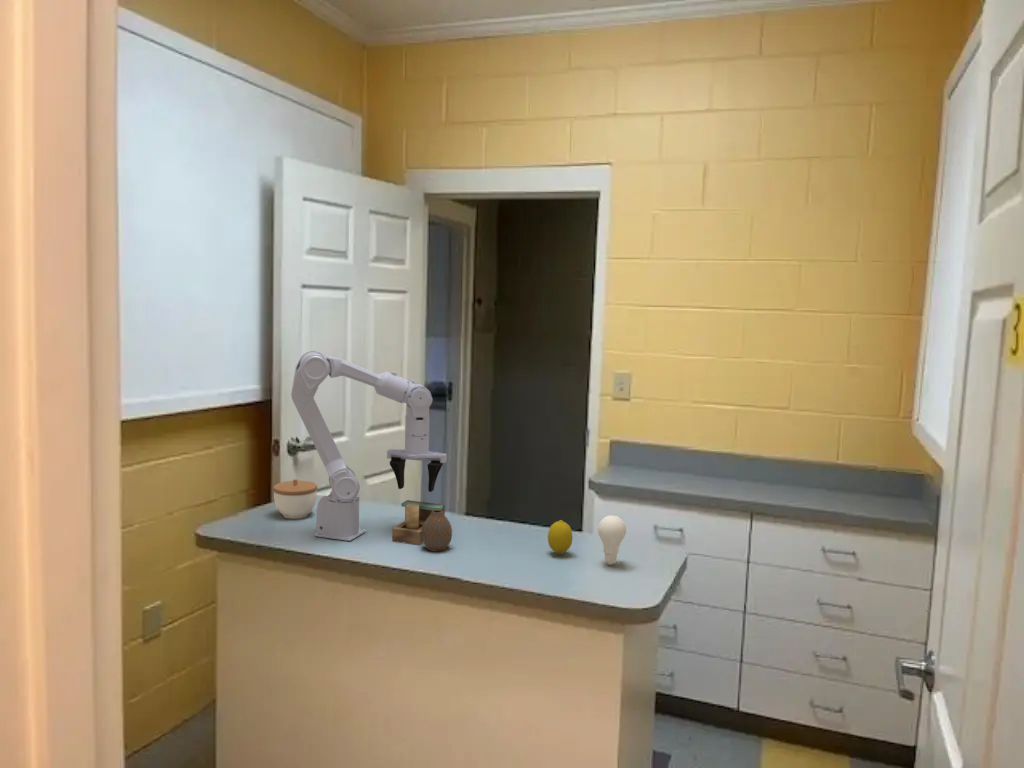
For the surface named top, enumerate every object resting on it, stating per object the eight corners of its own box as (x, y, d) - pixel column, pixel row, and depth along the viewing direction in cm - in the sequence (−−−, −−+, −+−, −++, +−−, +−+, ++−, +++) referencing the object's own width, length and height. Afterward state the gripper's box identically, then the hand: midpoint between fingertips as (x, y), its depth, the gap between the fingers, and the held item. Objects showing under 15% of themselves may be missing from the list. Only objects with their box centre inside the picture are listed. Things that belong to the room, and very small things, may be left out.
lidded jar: (325, 512, 201) (325, 477, 200) (300, 523, 191) (300, 486, 190) (291, 507, 204) (291, 472, 203) (264, 517, 195) (264, 481, 193)
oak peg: (403, 539, 181) (403, 506, 180) (409, 536, 184) (409, 503, 183) (414, 541, 180) (415, 508, 179) (420, 537, 183) (421, 504, 182)
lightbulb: (617, 571, 165) (619, 521, 164) (591, 565, 168) (593, 516, 167) (628, 563, 170) (631, 515, 169) (603, 557, 174) (605, 510, 172)
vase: (446, 554, 172) (447, 516, 171) (417, 551, 174) (417, 513, 173) (455, 544, 179) (456, 508, 178) (426, 542, 180) (427, 505, 179)
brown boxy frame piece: (386, 540, 181) (386, 511, 180) (406, 526, 191) (407, 500, 190) (425, 545, 178) (426, 517, 177) (444, 532, 188) (444, 504, 187)
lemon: (574, 552, 177) (575, 518, 176) (568, 560, 171) (569, 525, 170) (551, 549, 178) (552, 515, 177) (544, 556, 173) (545, 521, 172)
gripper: (382, 435, 183) (381, 490, 185) (441, 439, 180) (439, 496, 182) (393, 429, 190) (392, 483, 192) (449, 434, 187) (448, 488, 189)
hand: (416, 489), depth 188 cm, fingers open, 7 cm apart
